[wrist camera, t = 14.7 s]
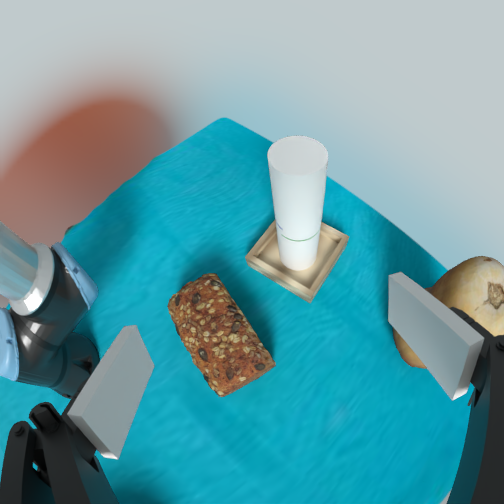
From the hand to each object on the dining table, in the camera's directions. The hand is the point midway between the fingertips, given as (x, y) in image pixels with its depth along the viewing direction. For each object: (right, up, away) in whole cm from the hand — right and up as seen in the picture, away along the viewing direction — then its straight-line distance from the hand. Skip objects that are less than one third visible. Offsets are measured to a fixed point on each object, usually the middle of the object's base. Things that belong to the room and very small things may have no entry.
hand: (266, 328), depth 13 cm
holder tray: (+8, +3, +41) cm, 42 cm away
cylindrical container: (+8, +3, +40) cm, 41 cm away
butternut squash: (+29, -12, +30) cm, 43 cm away
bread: (-6, -12, +35) cm, 37 cm away
